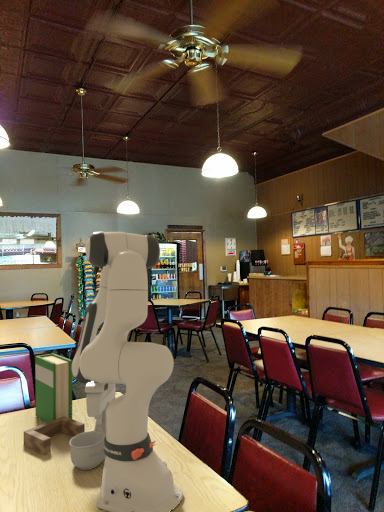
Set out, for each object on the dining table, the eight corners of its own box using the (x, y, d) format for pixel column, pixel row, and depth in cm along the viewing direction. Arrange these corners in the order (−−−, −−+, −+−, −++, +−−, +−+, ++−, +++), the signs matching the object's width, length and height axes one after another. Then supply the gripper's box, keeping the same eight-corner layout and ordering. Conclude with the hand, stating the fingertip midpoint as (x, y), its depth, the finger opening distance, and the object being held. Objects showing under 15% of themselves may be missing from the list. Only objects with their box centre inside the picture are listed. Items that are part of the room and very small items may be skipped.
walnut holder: (84, 436, 131) (84, 423, 132) (43, 455, 119) (43, 440, 119) (64, 428, 139) (64, 416, 139) (23, 445, 126) (23, 431, 126)
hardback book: (72, 423, 144) (71, 360, 144) (53, 428, 138) (53, 363, 139) (53, 410, 156) (53, 353, 157) (35, 415, 151) (35, 356, 152)
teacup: (93, 476, 106) (93, 448, 106) (61, 470, 109) (61, 443, 109) (118, 453, 119) (118, 428, 119) (89, 449, 122) (89, 424, 123)
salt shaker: (106, 442, 127) (106, 403, 127) (91, 440, 128) (91, 402, 129) (113, 434, 133) (113, 397, 133) (98, 433, 134) (98, 396, 134)
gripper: (103, 371, 142) (103, 408, 141) (82, 389, 121) (83, 432, 121) (119, 372, 141) (119, 409, 141) (101, 389, 121) (102, 432, 120)
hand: (102, 419), depth 131 cm, fingers open, 5 cm apart
